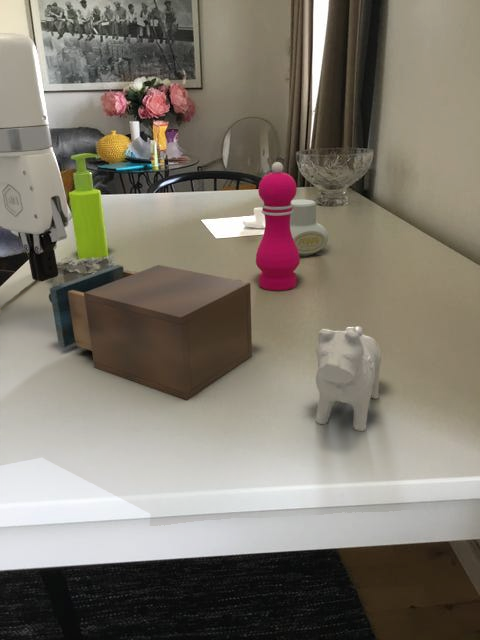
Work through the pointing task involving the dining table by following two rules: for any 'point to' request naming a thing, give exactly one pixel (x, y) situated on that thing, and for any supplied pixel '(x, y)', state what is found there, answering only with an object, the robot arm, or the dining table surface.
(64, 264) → the egg carton
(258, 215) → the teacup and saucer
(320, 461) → the dining table surface
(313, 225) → the air freshener
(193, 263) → the dining table surface
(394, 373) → the dining table surface
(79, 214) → the soap dispenser
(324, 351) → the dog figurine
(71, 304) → the drawer
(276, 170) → the pepper mill
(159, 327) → the cabinet
